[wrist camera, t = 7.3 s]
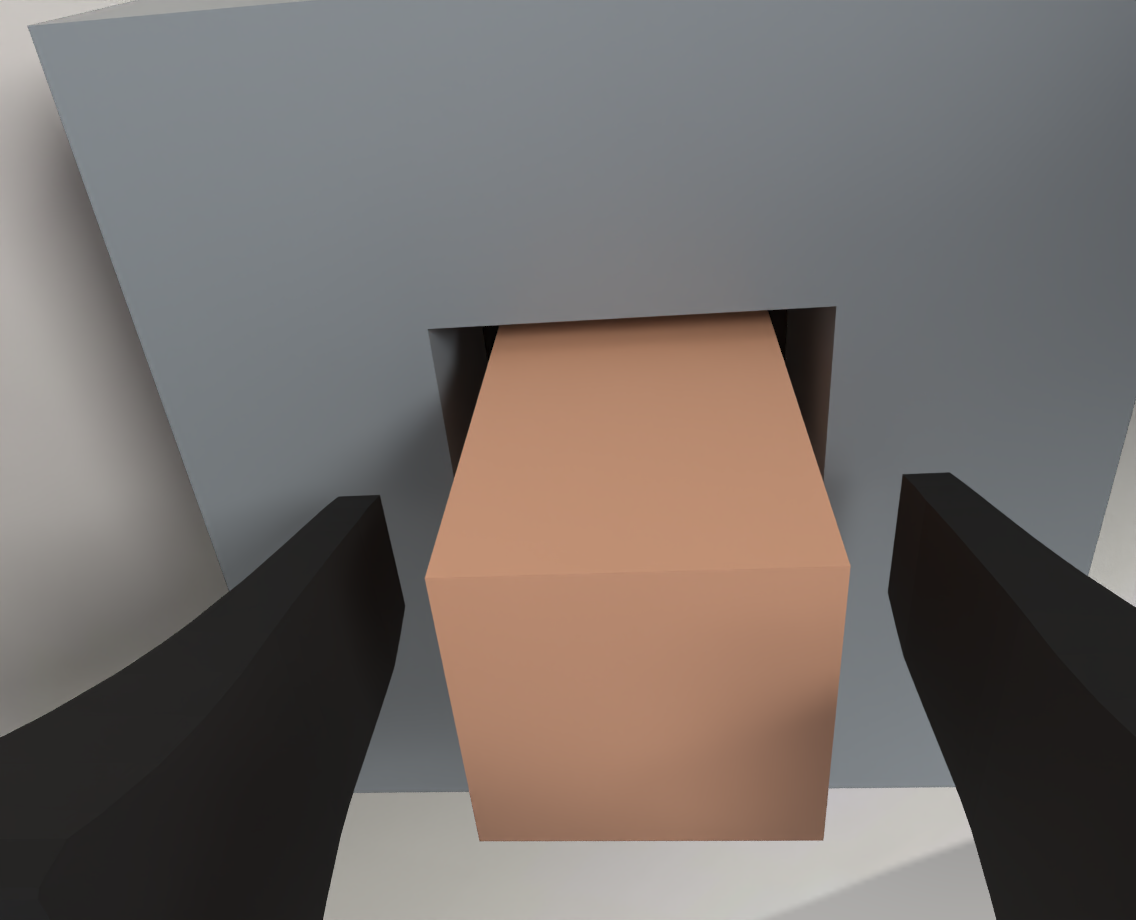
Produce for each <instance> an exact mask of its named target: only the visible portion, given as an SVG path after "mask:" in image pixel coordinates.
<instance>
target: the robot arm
mask: <svg viewBox="0 0 1136 920" xmlns="http://www.w3.org/2000/svg"><path fill="white" fill-rule="evenodd" d="M888 596H889V600H890V605H891V609H892V613H893V617H894V622H895V626H896V630H897V634H898V638H899V641H900V645H901V649H902V653H903V657H904V659H905V662H906V664H907V667H908V670H909V672H910V675H911V677H912V680H913V682H914V685H915V687H916V690H917V693H918V695H919V698H920V700H921V703H922V705H923V708H924V710H925V713H926V715H927V718H928V720H929V722H930V725H931V727H932V730H933V732H934V735H935V737H936V740H937V742H938V745H939V747H940V750H941V752H942V755H943V757H944V760H945V762H946V764H947V767H948V769H949V772H950V774H951V777H952V779H953V782H954V784H955V787H956V789H957V792H958V794H959V797H960V799H961V802H962V805H963V808H964V811H965V813H966V816H967V819H968V822H969V825H970V828H971V830H972V834H973V837H974V841H975V844H976V848H977V851H978V855H979V858H980V862H981V865H982V869H983V872H984V876H985V879H986V883H987V886H988V890H989V893H990V897H991V901H992V904H993V908H994V912H995V916H996V920H1136V607H1134V606H1133V605H1131V604H1129V603H1128V602H1126V601H1125V600H1123V599H1122V598H1120V597H1119V596H1117V595H1116V594H1114V593H1113V592H1111V591H1110V590H1108V589H1107V588H1105V587H1104V586H1102V585H1101V584H1099V583H1097V582H1096V581H1094V580H1093V579H1091V578H1090V577H1088V576H1087V575H1085V574H1084V573H1083V572H1081V571H1080V570H1078V569H1077V568H1075V567H1074V566H1073V565H1071V564H1070V563H1068V562H1067V561H1066V560H1064V559H1063V558H1061V557H1060V556H1059V555H1057V554H1056V553H1054V552H1053V551H1052V550H1050V549H1049V548H1048V547H1046V546H1045V545H1044V544H1042V543H1041V542H1040V541H1038V540H1037V539H1036V538H1034V537H1033V536H1032V535H1030V534H1029V533H1028V532H1026V531H1025V530H1024V529H1023V528H1021V527H1020V526H1019V525H1017V524H1016V523H1015V522H1013V521H1012V520H1011V519H1010V518H1008V517H1007V516H1006V515H1004V514H1003V513H1002V512H1001V511H999V510H998V509H997V508H996V507H994V506H993V505H992V504H990V503H989V502H988V501H987V500H985V499H984V498H983V497H982V496H980V495H979V494H978V493H977V492H975V491H974V490H973V489H971V488H970V487H969V486H968V485H966V484H965V483H964V482H962V481H961V480H960V479H958V478H957V477H955V476H954V475H953V474H951V473H950V472H945V473H920V474H903V475H902V483H901V491H900V499H899V506H898V514H897V522H896V530H895V538H894V546H893V554H892V562H891V570H890V577H889V585H888ZM404 612H405V602H404V597H403V593H402V589H401V584H400V580H399V576H398V571H397V567H396V563H395V558H394V554H393V550H392V545H391V541H390V536H389V532H388V528H387V523H386V519H385V515H384V510H383V506H382V502H381V497H380V495H362V496H338V497H337V498H336V499H335V500H333V501H332V502H331V503H330V504H328V505H327V506H326V507H325V508H324V509H323V510H321V511H320V512H319V513H318V514H317V515H316V516H315V517H314V518H312V519H311V520H310V521H309V522H308V523H307V524H306V525H305V526H304V527H302V528H301V529H300V530H299V531H298V532H297V533H296V534H295V535H294V536H293V537H291V538H290V539H289V540H288V541H287V542H286V543H285V544H284V545H283V546H281V547H280V548H279V549H278V550H277V551H276V552H275V553H274V554H272V555H271V556H270V557H269V558H268V559H267V560H266V561H265V562H263V563H262V564H261V565H260V566H259V567H258V568H257V569H256V570H254V571H253V572H252V573H251V574H250V575H249V576H248V577H246V578H245V579H244V580H243V581H242V582H240V583H239V584H238V585H237V586H235V587H234V588H233V589H232V590H230V591H229V592H228V593H227V594H225V595H224V596H223V597H222V598H221V599H219V600H218V601H217V602H216V603H214V604H213V605H212V606H211V607H209V608H208V609H207V610H206V611H204V612H203V613H202V614H201V615H199V616H198V617H197V618H196V619H195V620H193V621H192V622H191V623H189V624H188V625H187V626H185V627H184V628H183V629H181V630H180V631H179V632H177V633H176V634H174V635H173V636H172V637H170V638H169V639H167V640H166V641H165V642H163V643H162V644H160V645H159V646H157V647H156V648H154V649H153V650H151V651H150V652H148V653H147V654H145V655H144V656H142V657H141V658H139V659H138V660H136V661H135V662H134V663H132V664H131V665H129V666H127V667H126V668H124V669H123V670H121V671H120V672H118V673H116V674H115V675H113V676H111V677H110V678H108V679H106V680H105V681H103V682H101V683H99V684H98V685H96V686H94V687H92V688H91V689H89V690H87V691H86V692H84V693H82V694H80V695H79V696H77V697H75V698H74V699H72V700H70V701H68V702H67V703H65V704H63V705H62V706H60V707H58V708H56V709H55V710H53V711H51V712H49V713H47V714H46V715H44V716H42V717H40V718H38V719H36V720H34V721H32V722H30V723H28V724H26V725H24V726H22V727H21V728H19V729H17V730H15V731H13V732H11V733H9V734H7V735H5V736H3V737H1V738H0V920H323V917H324V911H325V906H326V901H327V897H328V892H329V887H330V883H331V878H332V873H333V869H334V864H335V860H336V855H337V850H338V846H339V841H340V837H341V833H342V829H343V826H344V822H345V819H346V815H347V811H348V808H349V804H350V801H351V798H352V795H353V792H354V789H355V786H356V783H357V780H358V777H359V774H360V771H361V768H362V765H363V762H364V759H365V756H366V753H367V750H368V747H369V744H370V741H371V738H372V735H373V732H374V729H375V726H376V723H377V720H378V717H379V714H380V711H381V708H382V705H383V702H384V699H385V696H386V693H387V689H388V686H389V683H390V680H391V677H392V674H393V670H394V667H395V662H396V657H397V652H398V646H399V641H400V636H401V630H402V624H403V618H404Z"/></svg>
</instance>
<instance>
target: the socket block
mask: <svg viewBox="0 0 1136 920" xmlns="http://www.w3.org/2000/svg"><path fill="white" fill-rule="evenodd" d="M28 29H29V31H30V34H31V37H32V40H33V43H34V45H35V48H36V51H37V54H38V57H39V59H40V62H41V65H42V68H43V71H44V74H45V76H46V79H47V82H48V85H49V88H50V90H51V93H52V96H53V99H54V102H55V104H56V107H57V110H58V113H59V116H60V118H61V121H62V124H63V127H64V130H65V132H66V135H67V138H68V141H69V144H70V146H71V149H72V152H73V155H74V158H75V160H76V163H77V166H78V169H79V172H80V174H81V177H82V180H83V183H84V186H85V188H86V191H87V194H88V197H89V200H90V202H91V205H92V208H93V211H94V214H95V216H96V219H97V222H98V225H99V228H100V230H101V233H102V236H103V239H104V242H105V244H106V247H107V250H108V253H109V256H110V258H111V261H112V264H113V267H114V270H115V272H116V275H117V278H118V281H119V284H120V286H121V289H122V292H123V295H124V298H125V301H126V303H127V306H128V309H129V312H130V315H131V317H132V320H133V323H134V326H135V329H136V331H137V334H138V337H139V340H140V343H141V345H142V348H143V351H144V354H145V357H146V359H147V362H148V365H149V368H150V371H151V373H152V376H153V379H154V382H155V385H156V387H157V390H158V393H159V396H160V399H161V401H162V404H163V407H164V410H165V413H166V415H167V418H168V421H169V424H170V427H171V429H172V432H173V435H174V438H175V441H176V443H177V446H178V449H179V452H180V455H181V457H182V460H183V463H184V466H185V469H186V471H187V474H188V477H189V480H190V483H191V485H192V488H193V491H194V494H195V497H196V499H197V502H198V505H199V508H200V511H201V513H202V516H203V519H204V522H205V525H206V528H207V530H208V533H209V536H210V539H211V542H212V544H213V547H214V550H215V553H216V556H217V558H218V561H219V564H220V567H221V570H222V572H223V575H224V578H225V581H226V584H227V586H228V589H229V591H230V590H232V589H233V588H234V587H235V586H237V585H238V584H239V583H240V582H242V581H243V580H244V579H245V578H246V577H248V576H249V575H250V574H251V573H252V572H253V571H254V570H256V569H257V568H258V567H259V566H260V565H261V564H262V563H263V562H265V561H266V560H267V559H268V558H269V557H270V556H271V555H272V554H274V553H275V552H276V551H277V550H278V549H279V548H280V547H281V546H283V545H284V544H285V543H286V542H287V541H288V540H289V539H290V538H291V537H293V536H294V535H295V534H296V533H297V532H298V531H299V530H300V529H301V528H302V527H304V526H305V525H306V524H307V523H308V522H309V521H310V520H311V519H312V518H314V517H315V516H316V515H317V514H318V513H319V512H320V511H321V510H323V509H324V508H325V507H326V506H327V505H328V504H330V503H331V502H332V501H333V500H335V499H336V498H337V497H338V496H362V495H380V497H381V502H382V506H383V510H384V515H385V519H386V523H387V528H388V532H389V536H390V541H391V545H392V550H393V554H394V558H395V563H396V567H397V571H398V576H399V580H400V584H401V589H402V593H403V597H404V602H405V612H404V618H403V624H402V630H401V636H400V641H399V646H398V652H397V657H396V662H395V667H394V670H393V674H392V677H391V680H390V683H389V686H388V689H387V693H386V696H385V699H384V702H383V705H382V708H381V711H380V714H379V717H378V720H377V723H376V726H375V729H374V732H373V735H372V738H371V741H370V744H369V747H368V750H367V753H366V756H365V759H364V762H363V765H362V768H361V771H360V774H359V777H358V780H357V783H356V786H355V789H354V792H353V793H379V792H469V788H468V783H467V778H466V773H465V769H464V764H463V759H462V754H461V749H460V745H459V740H458V735H457V730H456V725H455V721H454V716H453V711H452V706H451V702H450V697H449V692H448V687H447V682H446V678H445V673H444V668H443V663H442V658H441V654H440V649H439V644H438V639H437V635H436V630H435V625H434V620H433V615H432V611H431V606H430V601H429V596H428V591H427V587H426V582H425V576H426V572H427V569H428V565H429V562H430V559H431V555H432V552H433V549H434V545H435V542H436V538H437V535H438V532H439V528H440V525H441V521H442V518H443V515H444V511H445V508H446V504H447V501H448V498H449V494H450V491H451V488H452V484H453V481H454V477H455V474H456V471H457V467H458V464H459V460H460V457H461V454H462V450H463V447H464V444H465V440H466V437H467V433H468V430H469V427H470V423H471V420H472V416H473V413H474V410H475V406H476V403H477V399H478V396H479V393H480V389H481V386H482V383H483V379H484V376H485V372H486V369H487V366H488V364H487V357H486V350H485V343H484V336H483V329H482V326H491V325H509V324H527V323H545V322H563V321H581V320H599V319H617V318H634V317H652V316H670V315H688V314H706V313H724V312H742V311H760V310H777V309H788V311H787V334H786V356H785V365H786V368H787V371H788V375H789V378H790V381H791V384H792V387H793V390H794V393H795V396H796V399H797V402H798V405H799V408H800V412H801V415H802V418H803V421H804V424H805V427H806V430H807V433H808V436H809V439H810V442H811V445H812V449H813V452H814V455H815V458H816V461H817V464H818V467H819V470H820V473H821V476H822V479H823V482H824V486H825V489H826V492H827V495H828V498H829V501H830V504H831V507H832V510H833V513H834V516H835V519H836V523H837V526H838V529H839V532H840V535H841V538H842V541H843V544H844V547H845V550H846V553H847V556H848V560H849V563H850V566H851V567H850V577H849V587H848V597H847V607H846V617H845V627H844V637H843V647H842V657H841V667H840V677H839V687H838V697H837V708H836V718H835V728H834V738H833V748H832V758H831V768H830V778H829V788H908V787H955V784H954V782H953V779H952V777H951V774H950V772H949V769H948V767H947V764H946V762H945V760H944V757H943V755H942V752H941V750H940V747H939V745H938V742H937V740H936V737H935V735H934V732H933V730H932V727H931V725H930V722H929V720H928V718H927V715H926V713H925V710H924V708H923V705H922V703H921V700H920V698H919V695H918V693H917V690H916V687H915V685H914V682H913V680H912V677H911V675H910V672H909V670H908V667H907V664H906V662H905V659H904V657H903V653H902V649H901V645H900V641H899V638H898V634H897V630H896V626H895V622H894V617H893V613H892V609H891V605H890V600H889V596H888V585H889V577H890V570H891V562H892V554H893V546H894V538H895V530H896V522H897V514H898V506H899V499H900V491H901V483H902V475H903V474H920V473H945V472H950V473H951V474H953V475H954V476H955V477H957V478H958V479H960V480H961V481H962V482H964V483H965V484H966V485H968V486H969V487H970V488H971V489H973V490H974V491H975V492H977V493H978V494H979V495H980V496H982V497H983V498H984V499H985V500H987V501H988V502H989V503H990V504H992V505H993V506H994V507H996V508H997V509H998V510H999V511H1001V512H1002V513H1003V514H1004V515H1006V516H1007V517H1008V518H1010V519H1011V520H1012V521H1013V522H1015V523H1016V524H1017V525H1019V526H1020V527H1021V528H1023V529H1024V530H1025V531H1026V532H1028V533H1029V534H1030V535H1032V536H1033V537H1034V538H1036V539H1037V540H1038V541H1040V542H1041V543H1042V544H1044V545H1045V546H1046V547H1048V548H1049V549H1050V550H1052V551H1053V552H1054V553H1056V554H1057V555H1059V556H1060V557H1061V558H1063V559H1064V560H1066V561H1067V562H1068V563H1070V564H1071V565H1073V566H1074V567H1075V568H1077V569H1078V570H1080V571H1081V572H1083V573H1084V574H1085V575H1087V576H1088V574H1089V570H1090V566H1091V563H1092V559H1093V555H1094V552H1095V548H1096V544H1097V541H1098V537H1099V533H1100V529H1101V526H1102V522H1103V518H1104V515H1105V511H1106V507H1107V504H1108V500H1109V496H1110V493H1111V489H1112V485H1113V481H1114V478H1115V474H1116V470H1117V467H1118V463H1119V459H1120V456H1121V452H1122V448H1123V444H1124V441H1125V437H1126V433H1127V430H1128V426H1129V422H1130V419H1131V415H1132V411H1133V408H1134V404H1135V400H1136V0H135V1H131V2H127V3H123V4H118V5H114V6H110V7H106V8H101V9H97V10H93V11H89V12H85V13H80V14H76V15H72V16H68V17H63V18H59V19H55V20H51V21H46V22H42V23H38V24H34V25H29V26H28Z"/></svg>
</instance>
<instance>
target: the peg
mask: <svg viewBox="0 0 1136 920" xmlns="http://www.w3.org/2000/svg"><path fill="white" fill-rule="evenodd" d="M850 567H851V566H850V563H849V560H848V556H847V553H846V550H845V547H844V544H843V541H842V538H841V535H840V532H839V529H838V526H837V523H836V519H835V516H834V513H833V510H832V507H831V504H830V501H829V498H828V495H827V492H826V489H825V486H824V482H823V479H822V476H821V473H820V470H819V467H818V464H817V461H816V458H815V455H814V452H813V449H812V445H811V442H810V439H809V436H808V433H807V430H806V427H805V424H804V421H803V418H802V415H801V412H800V408H799V405H798V402H797V399H796V396H795V393H794V390H793V387H792V384H791V381H790V378H789V375H788V371H787V368H786V365H785V362H784V359H783V356H782V353H781V350H780V347H779V344H778V341H777V338H776V335H775V331H774V328H773V325H772V322H771V319H770V316H769V313H768V310H760V311H742V312H724V313H706V314H688V315H670V316H652V317H634V318H617V319H599V320H581V321H563V322H545V323H527V324H509V325H499V328H498V332H497V335H496V339H495V342H494V345H493V349H492V352H491V355H490V359H489V362H488V366H487V369H486V372H485V376H484V379H483V383H482V386H481V389H480V393H479V396H478V399H477V403H476V406H475V410H474V413H473V416H472V420H471V423H470V427H469V430H468V433H467V437H466V440H465V444H464V447H463V450H462V454H461V457H460V460H459V464H458V467H457V471H456V474H455V477H454V481H453V484H452V488H451V491H450V494H449V498H448V501H447V504H446V508H445V511H444V515H443V518H442V521H441V525H440V528H439V532H438V535H437V538H436V542H435V545H434V549H433V552H432V555H431V559H430V562H429V565H428V569H427V572H426V576H425V582H426V587H427V591H428V596H429V601H430V606H431V611H432V615H433V620H434V625H435V630H436V635H437V639H438V644H439V649H440V654H441V658H442V663H443V668H444V673H445V678H446V682H447V687H448V692H449V697H450V702H451V706H452V711H453V716H454V721H455V725H456V730H457V735H458V740H459V745H460V749H461V754H462V759H463V764H464V769H465V773H466V778H467V783H468V788H469V792H470V797H471V802H472V807H473V812H474V816H475V821H476V826H477V831H478V835H479V840H480V841H797V840H823V838H824V828H825V818H826V808H827V798H828V788H829V778H830V768H831V758H832V748H833V738H834V728H835V718H836V708H837V697H838V687H839V677H840V667H841V657H842V647H843V637H844V627H845V617H846V607H847V597H848V587H849V577H850Z"/></svg>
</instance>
